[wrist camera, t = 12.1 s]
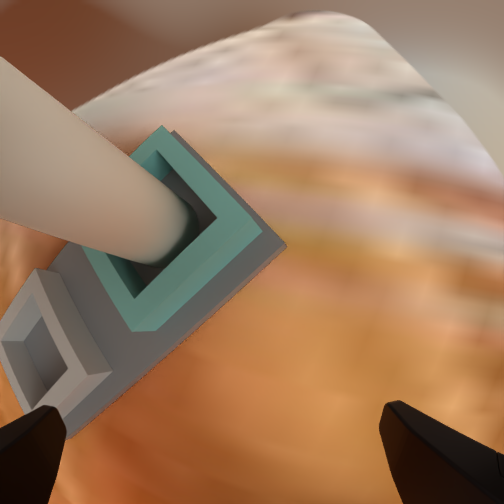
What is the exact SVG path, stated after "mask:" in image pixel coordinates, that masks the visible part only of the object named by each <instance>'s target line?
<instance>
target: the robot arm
mask: <svg viewBox="0 0 504 504" xmlns="http://www.w3.org/2000/svg"><path fill="white" fill-rule="evenodd" d="M379 432H380V435H381V439H382V442H383V446H384V449H385V453H386V457H387V460H388V464H389V468H390V471H391V475H392V477H393V480H394V482H395V485H396V487H397V490H398V492H399V495H400V497H401V500H402V502H403V504H504V455H503V454H501V453H499V452H496V451H495V450H493V449H491V448H489V447H487V446H485V445H483V444H481V443H479V442H477V441H475V440H473V439H471V438H469V437H467V436H465V435H463V434H461V433H460V432H458V431H456V430H454V429H452V428H450V427H448V426H446V425H444V424H442V423H441V422H439V421H437V420H435V419H433V418H431V417H430V416H428V415H426V414H424V413H422V412H420V411H419V410H417V409H415V408H413V407H411V406H410V405H408V404H406V403H404V402H402V401H400V400H397V401H392V402H388V403H386V404H385V406H384V408H383V412H382V416H381V420H380V423H379ZM66 435H67V429H66V426H65V424H64V421H63V419H62V417H61V415H60V413H59V411H58V409H57V408H56V407H54V406H49V405H42V406H40V407H38V408H37V409H35V410H33V411H31V412H29V413H27V414H26V415H24V416H22V417H20V418H18V419H16V420H14V421H13V422H11V423H9V424H7V425H5V426H3V427H1V428H0V504H48V502H49V498H50V495H51V492H52V489H53V486H54V483H55V480H56V477H57V473H58V469H59V465H60V460H61V456H62V452H63V447H64V443H65V439H66Z"/></svg>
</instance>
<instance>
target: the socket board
mask: <svg viewBox="0 0 504 504" xmlns="http://www.w3.org/2000/svg"><path fill="white" fill-rule="evenodd" d="M129 157H130V158H131V159H132V160H134V161H135V162H136V163H138V164H139V165H140V166H141V167H143V168H144V169H145V170H146V171H148V172H149V173H150V174H152V175H153V176H154V177H155V178H157V179H158V180H159V181H161V182H162V183H163V184H164V185H166V186H167V187H168V188H170V189H171V190H172V191H173V192H175V193H176V194H177V195H178V196H180V197H181V198H182V199H184V200H185V201H186V202H187V203H189V204H190V205H191V206H192V208H193V209H194V211H195V212H196V215H197V218H198V222H199V234H198V237H197V238H196V239H195V240H194V241H193V242H192V243H191V244H190V245H189V246H188V247H187V248H186V249H184V250H183V251H182V252H181V253H180V254H179V255H178V256H177V257H176V258H175V259H174V260H173V261H172V262H171V263H170V264H169V265H168V266H167V267H166V268H163V269H162V268H156V267H152V266H149V265H145V264H142V263H138V262H135V261H132V260H128V259H125V258H121V257H118V256H115V255H112V254H108V253H105V252H102V251H98V250H95V249H92V248H89V247H86V246H82V245H79V244H76V243H73V242H70V241H69V242H68V243H67V244H66V245H65V247H64V248H63V249H62V250H61V252H60V253H59V254H58V255H57V257H56V258H55V259H54V261H53V262H52V263H51V265H50V266H49V267H48V269H47V270H43V269H38V268H35V269H34V270H33V272H32V273H31V274H30V276H29V277H28V279H27V280H26V282H25V283H24V285H23V286H22V288H21V289H20V291H19V292H18V294H17V295H16V297H15V298H14V300H13V301H12V303H11V305H10V306H9V308H8V309H7V311H6V313H5V314H4V316H3V318H2V319H1V321H0V361H1V363H2V366H3V368H4V371H5V373H6V375H7V378H8V380H9V382H10V385H11V387H12V389H13V391H14V393H15V395H16V397H17V400H18V402H19V404H20V406H21V408H22V410H23V412H24V414H25V415H26V414H27V413H29V412H31V411H33V410H35V409H37V408H38V407H40V406H42V405H49V406H54V407H56V408H57V409H58V411H59V413H60V415H61V417H62V419H63V421H64V424H65V426H66V429H67V435H66V439H65V440H68V439H71V438H72V437H73V436H74V435H76V434H77V433H78V432H79V431H80V430H82V429H83V428H84V427H85V426H86V425H87V424H89V423H90V422H91V421H92V420H93V419H95V418H96V417H97V416H98V415H99V414H100V413H102V412H103V411H104V410H105V409H106V408H107V407H109V406H110V405H111V404H112V403H113V402H114V401H115V400H117V399H118V398H119V397H120V396H121V395H122V394H124V393H125V392H126V391H127V390H128V389H129V388H131V387H132V386H133V385H134V384H135V383H136V382H137V381H139V380H140V379H141V378H142V377H143V376H144V375H145V374H147V373H148V372H149V371H150V370H151V369H152V368H153V367H155V366H156V365H157V364H158V363H159V362H160V361H161V360H163V359H164V358H165V357H166V356H167V355H168V354H169V353H170V352H172V351H173V350H174V349H175V348H176V347H177V346H178V345H179V344H181V343H182V342H183V341H184V340H185V339H186V338H187V337H188V336H190V335H191V334H192V333H193V332H194V331H195V330H196V329H197V328H199V327H200V326H201V325H202V324H203V323H204V322H205V321H206V320H207V319H209V318H210V317H211V316H212V315H213V314H214V313H215V312H216V311H217V310H219V309H220V308H221V307H222V306H223V305H224V304H225V303H226V302H227V301H229V300H230V299H231V298H232V297H233V296H234V295H235V294H236V293H237V292H238V291H240V290H241V289H242V288H243V287H244V286H245V285H246V284H247V283H248V282H249V281H251V280H252V279H253V278H254V277H255V276H256V275H257V274H258V273H259V272H260V271H261V270H263V269H264V268H265V267H266V266H267V265H268V264H269V263H270V262H271V261H272V260H273V259H274V258H276V257H277V256H278V255H279V254H280V253H281V252H282V251H283V250H284V249H285V248H286V247H287V246H286V244H285V242H284V241H283V240H282V239H281V238H280V237H279V236H278V235H277V234H276V233H275V232H274V231H273V230H272V229H271V228H270V227H269V226H268V225H267V224H266V223H265V222H264V221H263V219H262V218H261V217H260V216H259V215H258V214H257V213H256V212H255V211H254V210H253V209H252V208H251V207H250V206H249V205H248V204H247V203H246V202H245V201H244V200H243V199H242V198H241V197H240V196H239V195H238V194H237V193H236V192H235V191H234V190H233V189H232V188H231V187H230V186H229V185H228V184H227V182H226V181H225V180H224V179H223V178H222V177H221V176H220V175H219V174H218V173H217V172H216V171H215V170H214V169H213V168H212V167H211V166H210V165H209V164H208V163H207V162H206V161H205V160H204V159H203V158H202V157H201V156H200V155H199V154H198V153H197V152H196V151H195V150H194V149H193V148H192V147H191V146H190V145H189V144H188V143H187V142H186V141H185V140H184V139H183V138H182V137H181V136H180V135H179V134H178V133H176V132H175V131H173V132H171V133H169V132H168V131H167V130H166V129H165V128H164V127H163V126H162V125H161V126H160V127H159V128H158V129H157V130H156V131H155V132H154V133H153V134H152V135H151V136H150V137H149V138H147V139H146V140H145V141H144V142H143V143H142V144H141V145H140V146H139V147H138V148H137V149H136V150H135V151H134V152H133V153H132V154H131V155H130V156H129Z"/></svg>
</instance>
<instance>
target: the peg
mask: <svg viewBox="0 0 504 504" xmlns="http://www.w3.org/2000/svg"><path fill="white" fill-rule="evenodd" d="M0 218H1V219H4V220H7V221H10V222H13V223H16V224H19V225H21V226H24V227H27V228H30V229H33V230H36V231H39V232H42V233H45V234H48V235H51V236H54V237H57V238H61V239H64V240H67V241H70V242H73V243H76V244H79V245H82V246H86V247H89V248H92V249H95V250H98V251H102V252H105V253H108V254H112V255H115V256H118V257H121V258H125V259H128V260H132V261H135V262H138V263H142V264H145V265H149V266H152V267H156V268H162V269H163V268H166V267H167V266H168V265H169V264H170V263H171V262H172V261H173V260H174V259H175V258H176V257H177V256H178V255H179V254H180V253H181V252H182V251H183V250H184V249H186V248H187V247H188V246H189V245H190V244H191V243H192V242H193V241H194V240H195V239H196V238H197V237H198V234H199V222H198V218H197V215H196V212H195V211H194V209H193V208H192V206H191V205H190V204H189V203H187V202H186V201H185V200H184V199H182V198H181V197H180V196H178V195H177V194H176V193H175V192H173V191H172V190H171V189H170V188H168V187H167V186H166V185H164V184H163V183H162V182H161V181H159V180H158V179H157V178H155V177H154V176H153V175H152V174H150V173H149V172H148V171H146V170H145V169H144V168H143V167H141V166H140V165H139V164H138V163H136V162H135V161H134V160H132V159H131V158H130V157H129V156H127V155H126V154H125V153H123V152H122V151H121V150H120V149H118V148H117V147H116V146H115V145H113V144H112V143H111V142H109V141H108V140H107V139H106V138H104V137H103V136H102V135H100V134H99V133H98V132H97V131H95V130H94V129H93V128H92V127H90V126H89V125H88V124H86V123H85V122H84V121H83V120H81V119H80V118H79V117H77V116H76V115H75V114H74V113H72V112H71V111H70V110H68V109H67V108H66V107H65V106H63V105H62V104H61V103H60V102H58V101H57V100H56V99H54V98H53V97H52V96H51V95H49V94H48V93H47V92H46V91H44V90H43V89H42V88H40V87H39V86H38V85H37V84H35V83H34V82H33V81H31V80H30V79H29V78H28V77H26V76H25V75H24V74H22V73H21V72H20V71H19V70H17V69H16V68H15V67H14V66H12V65H11V64H10V63H9V62H7V61H6V60H5V59H3V58H2V57H1V56H0Z"/></svg>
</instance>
